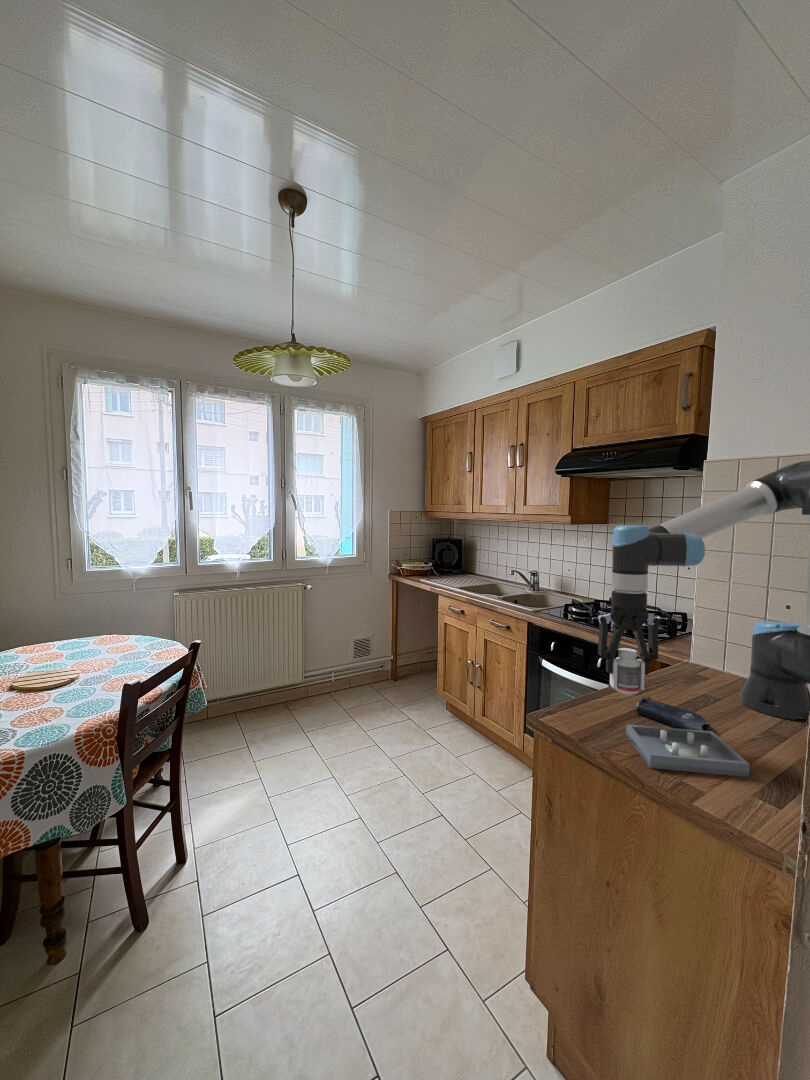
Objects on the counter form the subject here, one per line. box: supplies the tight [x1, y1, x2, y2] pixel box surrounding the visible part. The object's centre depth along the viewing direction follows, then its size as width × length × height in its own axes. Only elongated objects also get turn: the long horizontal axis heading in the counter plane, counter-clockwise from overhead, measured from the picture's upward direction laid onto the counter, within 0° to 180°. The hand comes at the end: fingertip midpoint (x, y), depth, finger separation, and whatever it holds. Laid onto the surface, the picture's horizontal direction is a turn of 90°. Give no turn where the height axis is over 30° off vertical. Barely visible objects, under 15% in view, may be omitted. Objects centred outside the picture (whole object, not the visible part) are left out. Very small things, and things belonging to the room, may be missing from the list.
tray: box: [625, 724, 751, 778], centre depth 92 cm, size 18×13×4 cm
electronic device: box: [634, 696, 711, 731], centre depth 108 cm, size 9×6×15 cm
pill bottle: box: [614, 647, 640, 695], centre depth 104 cm, size 5×5×10 cm
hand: (626, 686), depth 105 cm, fingers closed on pill bottle, 5 cm apart
